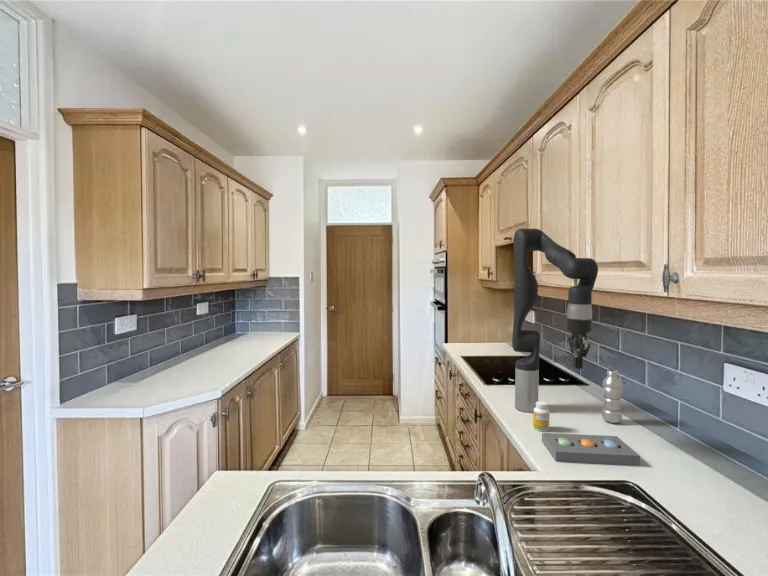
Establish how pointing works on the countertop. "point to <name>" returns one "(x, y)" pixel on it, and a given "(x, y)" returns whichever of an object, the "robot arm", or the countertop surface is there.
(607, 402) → the plastic bottle
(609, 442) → the blue button
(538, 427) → the supplement bottle
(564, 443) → the green button
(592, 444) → the orange button
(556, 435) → the button box
